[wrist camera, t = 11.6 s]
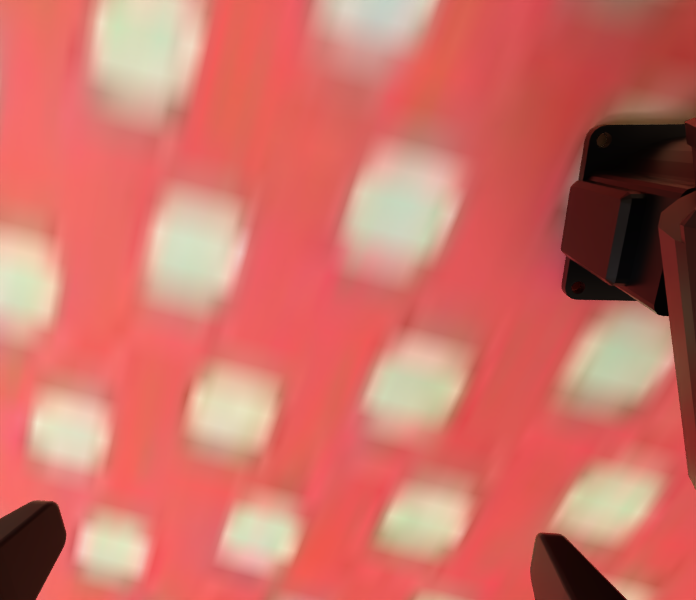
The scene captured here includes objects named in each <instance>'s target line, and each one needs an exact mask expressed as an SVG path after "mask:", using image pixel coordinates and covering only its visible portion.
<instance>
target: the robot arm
mask: <svg viewBox="0 0 696 600" xmlns="http://www.w3.org/2000/svg"><path fill="white" fill-rule="evenodd" d="M601 133H604V134H605V135H606V138H607V140H606V143H605V144H604V145H603V146H602V147H599V146H598V145H597V141H596V140H597V138H598V136H599V135H600V134H601ZM561 251H562V252H563V253H564V254H565V255H566V260H565V266H564V273H563V279H562V290H563V292H564V293H565V294H566V295H567V296H569V297H570V298H571V299H576V300H623V301H638V302H640V303H641V304H643V305H644V306H646V307H647V308H649V309H650V310H652V311H653V312H655V313H656V314H658V315H662V316H669V320H670V328H671V336H672V344H673V353H674V361H675V369H676V377H677V385H678V393H679V402H680V410H681V418H682V426H683V434H684V443H685V451H686V459H687V467H688V475H689V477H690V479H691V481H692V483H693V485H694V487H695V489H696V117H695V118H692V119H689V120H687V121H685V124H668V125H601V126H596V127H594V128H593V129H591V130H590V131H589V133H588V134H587V136H586V138H585V142H584V149H583V155H582V161H581V167H580V173H579V180H578V181H576V182H575V183H574V184H573V185H572V186H571V188H570V194H569V200H568V206H567V213H566V219H565V226H564V232H563V238H562V245H561ZM579 281H580V282H581V286H580V288H579V289H577V290H574V291H573V290H572V288H571V287H572V285H573V284H574V283H575V282H579ZM65 541H66V530H65V527H64V523H63V520H62V516H61V513H60V509H59V506H58V505H57V504H56V503H55V502H53V501H40V500H36V501H32V502H30V503H28V504H26V505H24V506H22V507H20V508H19V509H17V510H15V511H13V512H11V513H10V514H8V515H6V516H4V517H2V518H1V519H0V600H36V598H37V596H38V594H39V593H40V591H41V589H42V587H43V585H44V583H45V581H46V579H47V577H48V576H49V574H50V572H51V570H52V568H53V566H54V564H55V562H56V560H57V559H58V557H59V555H60V553H61V551H62V549H63V547H64V544H65ZM530 573H531V582H532V587H533V591H534V596H535V600H627V599H626V598H625V597H624V596H623V595H622V594H621V593H620V592H619V591H618V590H617V589H616V588H615V587H614V586H613V585H612V584H611V583H610V582H609V581H608V580H607V579H606V578H605V577H604V576H603V575H602V574H601V573H600V572H599V571H598V570H597V569H596V568H595V567H594V566H593V565H592V564H591V563H590V562H589V561H588V560H587V559H586V558H585V557H584V556H583V555H582V554H581V553H580V552H579V551H578V550H577V549H576V548H575V547H574V546H573V545H572V544H571V543H570V542H569V541H568V540H567V538H565V537H564V536H563V535H561V534H555V533H539V534H537V536H536V539H535V544H534V549H533V555H532V561H531V567H530Z"/></svg>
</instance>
